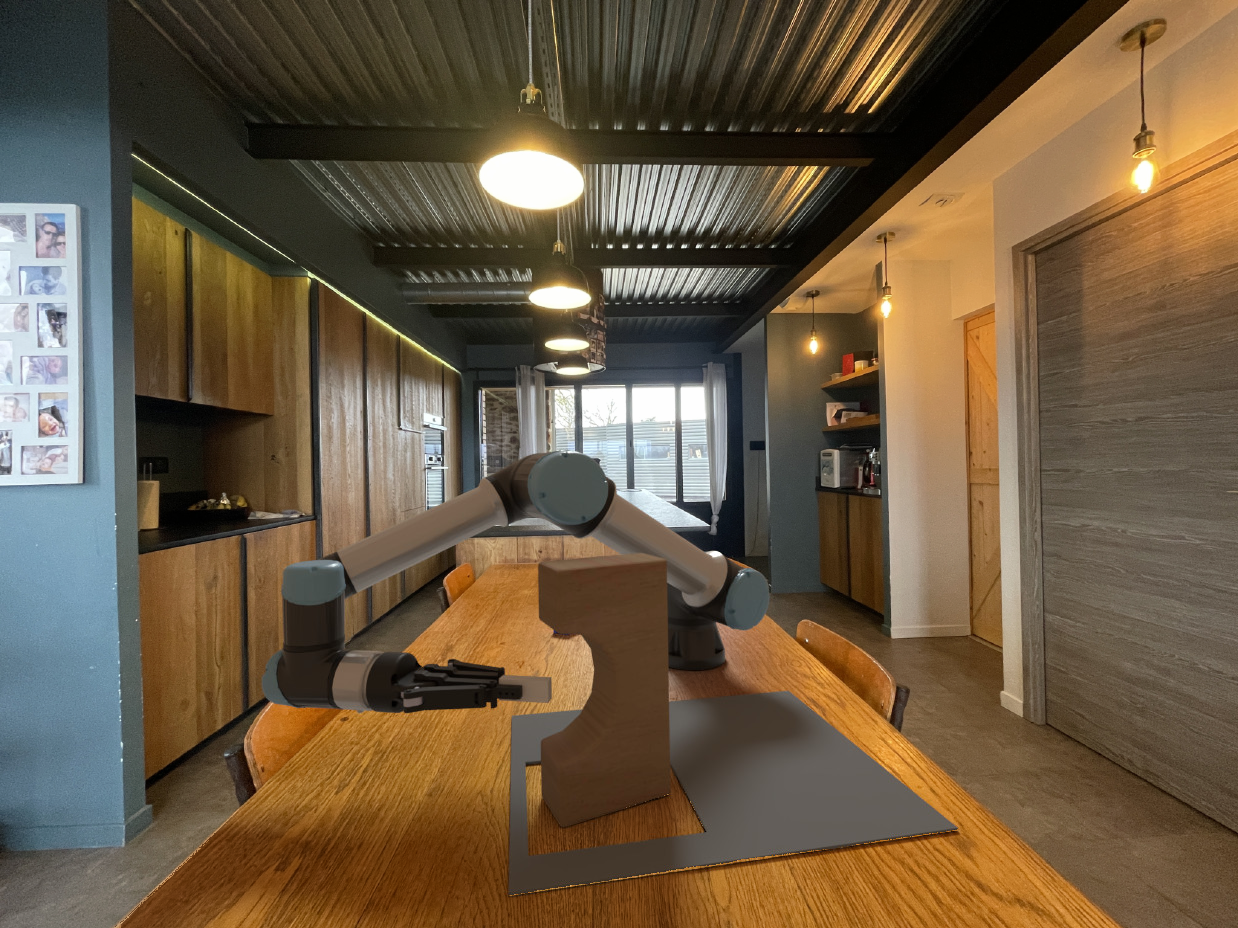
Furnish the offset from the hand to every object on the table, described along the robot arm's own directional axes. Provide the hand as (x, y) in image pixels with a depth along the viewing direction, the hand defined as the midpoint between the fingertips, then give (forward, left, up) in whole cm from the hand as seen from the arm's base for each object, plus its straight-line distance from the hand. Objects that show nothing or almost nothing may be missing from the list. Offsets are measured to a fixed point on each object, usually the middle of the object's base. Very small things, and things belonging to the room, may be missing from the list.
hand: (549, 689), depth 72 cm
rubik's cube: (-8, -75, -14) cm, 77 cm away
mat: (-20, -5, -14) cm, 25 cm away
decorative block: (-7, +1, -14) cm, 16 cm away
